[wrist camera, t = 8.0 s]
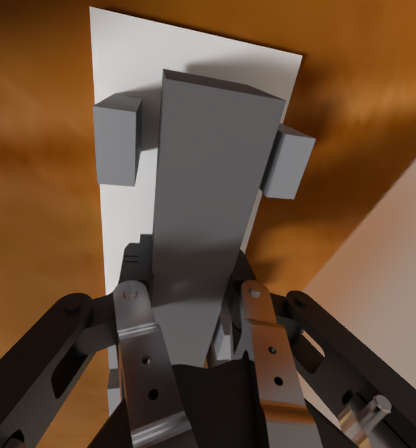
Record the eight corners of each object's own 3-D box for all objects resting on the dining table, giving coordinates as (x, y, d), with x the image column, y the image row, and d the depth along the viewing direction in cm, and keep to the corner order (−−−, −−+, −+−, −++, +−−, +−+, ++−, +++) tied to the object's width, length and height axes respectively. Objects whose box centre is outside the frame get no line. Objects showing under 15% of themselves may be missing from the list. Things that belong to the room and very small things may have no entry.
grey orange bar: (151, 66, 10) (147, 77, 6) (256, 86, 11) (306, 105, 7) (139, 351, 21) (135, 414, 17) (191, 348, 22) (198, 406, 18)
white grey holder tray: (93, 10, 10) (40, -40, 5) (294, 56, 12) (379, 48, 7) (111, 360, 22) (100, 438, 17) (211, 353, 24) (224, 420, 19)
